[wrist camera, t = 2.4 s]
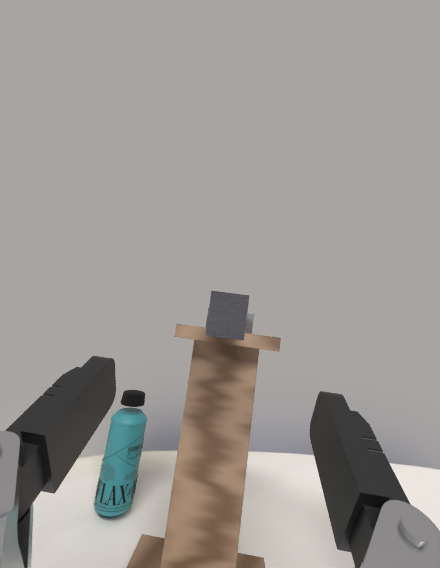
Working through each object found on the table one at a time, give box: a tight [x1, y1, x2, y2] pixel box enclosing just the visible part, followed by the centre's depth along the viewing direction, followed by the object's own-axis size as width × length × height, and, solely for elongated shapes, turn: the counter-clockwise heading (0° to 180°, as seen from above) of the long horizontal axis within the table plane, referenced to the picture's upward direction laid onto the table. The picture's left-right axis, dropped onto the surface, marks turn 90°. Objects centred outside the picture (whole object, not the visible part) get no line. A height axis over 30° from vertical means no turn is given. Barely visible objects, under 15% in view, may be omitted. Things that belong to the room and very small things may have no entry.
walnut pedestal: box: [127, 308, 280, 568], centre depth 34 cm, size 18×16×36 cm
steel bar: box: [206, 291, 249, 341], centre depth 30 cm, size 3×18×4 cm, turn 177°
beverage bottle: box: [94, 390, 147, 516], centre depth 47 cm, size 6×7×20 cm
